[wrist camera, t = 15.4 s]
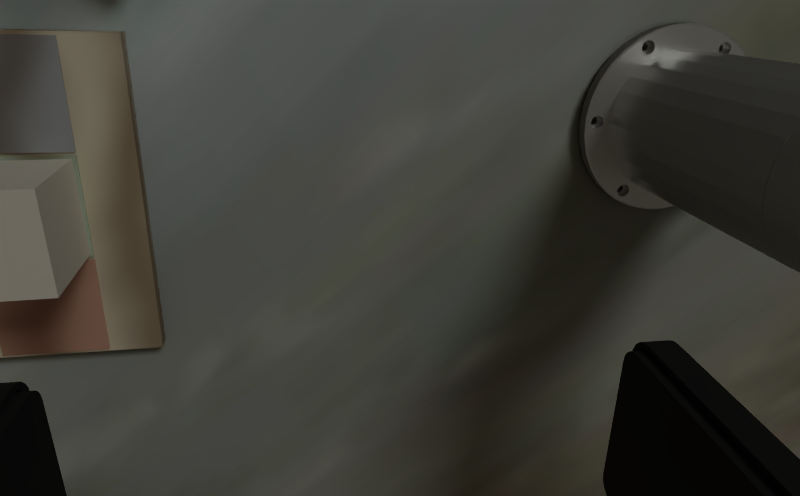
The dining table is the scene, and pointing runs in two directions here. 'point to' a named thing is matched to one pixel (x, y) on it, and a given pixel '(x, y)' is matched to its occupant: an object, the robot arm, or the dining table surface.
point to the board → (82, 189)
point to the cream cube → (39, 229)
